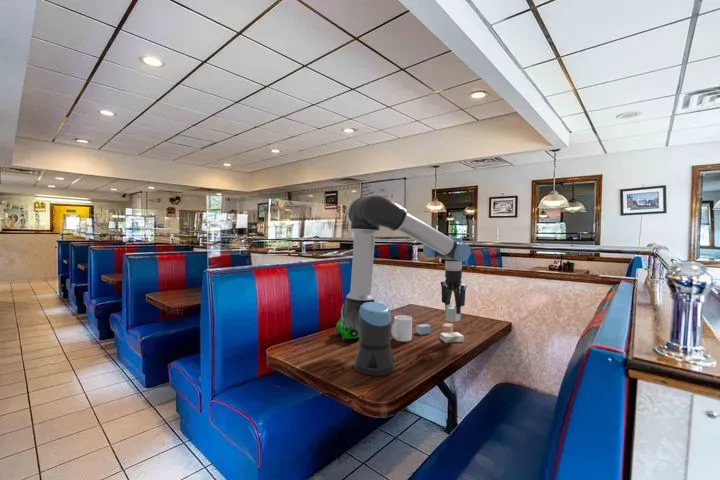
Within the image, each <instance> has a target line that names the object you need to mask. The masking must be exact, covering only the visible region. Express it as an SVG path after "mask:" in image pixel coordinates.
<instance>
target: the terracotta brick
mask: <svg viewBox="0 0 720 480" xmlns="http://www.w3.org/2000/svg"><path fill="white" fill-rule="evenodd" d="M441 327H442V328H441V330H442V331H441V333H452V332H454V323H451V322H450V323H449V322H445V323H443V324H442V325H441Z"/></svg>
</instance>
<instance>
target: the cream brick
mask: <svg viewBox="0 0 720 480" xmlns="http://www.w3.org/2000/svg"><path fill="white" fill-rule="evenodd" d="M439 335H440V337H439V339H440V340H441V341H443V342H444V343H446V344H447V343H451V344H452V343H464V342H465V336H464V335H463V334H461V333H460V332H458V331H456V332H455V331H453V332H452V333H442V332H440V333H439Z"/></svg>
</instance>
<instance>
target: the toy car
mask: <svg viewBox="0 0 720 480" xmlns="http://www.w3.org/2000/svg"><path fill="white" fill-rule="evenodd" d="M335 331H336V336H341V340H342V342H347V341H348V339H355V341H359V332H357V331H356V330H354V329H352V328H350V327H349V326H348V325H347V324H346V323H345V322H344V321H343V319H342V316H341V317H339V320H338V322H336V327H335Z"/></svg>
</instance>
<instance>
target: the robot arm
mask: <svg viewBox="0 0 720 480" xmlns="http://www.w3.org/2000/svg"><path fill="white" fill-rule="evenodd" d="M347 218H348V220H349V221H350V230H351V232H352V233H353V248H352V263H351V265H352V266H351V277H350V278H351V279H350V290H349V293H348V294H346V296H345V301H344V303H343V304H342V306H341V310H340V315H341V317H342V319H343V321H344V322H345V323H346V324H347V325H348V326H349V327H350V328H352V329H354V330H356V331H357V332H359V340H358V341H359V344H358V349H357V352H356V356H355V359H354V363H353V364H354V369H355V371H356V372H358V373H360V374H363V375H365V376H374V377H375V376H378V377H379V376H386V375H389V374H391V373H393V372H394V371H395V370H396V368H395V367H396V366H395V365H396V362H395V359H394V355H393V352H392V347H391V340H392V339H391V336H392V334H391V328H392V312H391V308H390V307H389V306H388V305H386V304H384V303H382V302H380V303H379V302H377V301H376V302H375V300H376V299H375V297H374V296H373V294H372V289H373V288H372V287H373V286H372V285H373V284H372V283H373V272H374V257H375V256H374V255H375V244H376V243H375V241H376V235H377V234H379V232H380V227H383V228H387V229H389V230H391V231H398V232H401V233H402V234H404V235H406V236H408V237H410V238H411V239H412V240H413V239H414V241H417V242H419V243H421V244H422V245H423V248H422V249H423V251H422V253H423V255H424V256H425V258H427V259H441V260H445V262H444V263H445V264H444V266H445V271H444V278H445V280H444V281H440V285H441V303H442V304H443V303H444V305H445V307H444V308H445V309H444V310H445V312H446V307H451V306H452V304H451V298H452V294H454V302H455V305H454V306H455V307H454V321H455V322H458V320H459V314H460V313H461V312H462V311H461V310H462V309H461V308H462V307H464V306H465V304H466V290H467V287H468V285H467V284H464V283H462V278H463V277H462V276H463V271H462V269H463V262H465V261H468V260H469V258H470V256H471V253H472V252H471V248H470V245H468V244H467V243H464V242H463V238H462V237H461V236H447V234H446V235H445V234H444V233H442V232H441V231H439V230H437V229H436V228H434V227H432V226H430V225H429V224H427V223H425V222H424V221H422V220H420V219H418V218H417V217H415V216H413V215H411V214H410V213H408V212H407V209H406V208H405V207H404V206H401V205H400V204H398V203H396V202H394V201H393V200H391V199H389V198H388V197H384V196H382V195H378V194H377V195H371V196H363V197H362V196H361V197H359V198H356V199H355V200H353V201H352V202H351V203H350V205H349V206H348V209H347ZM459 321H460V320H459Z"/></svg>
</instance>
